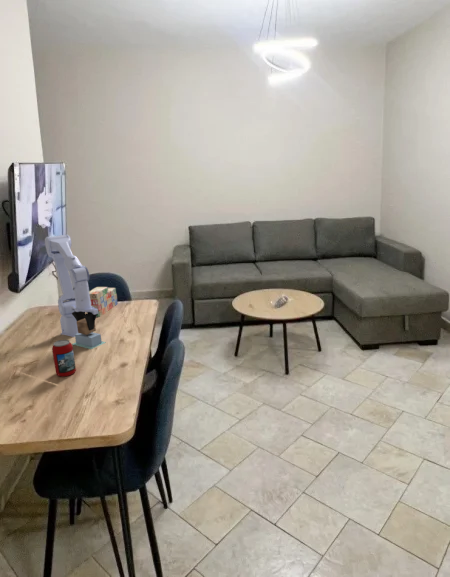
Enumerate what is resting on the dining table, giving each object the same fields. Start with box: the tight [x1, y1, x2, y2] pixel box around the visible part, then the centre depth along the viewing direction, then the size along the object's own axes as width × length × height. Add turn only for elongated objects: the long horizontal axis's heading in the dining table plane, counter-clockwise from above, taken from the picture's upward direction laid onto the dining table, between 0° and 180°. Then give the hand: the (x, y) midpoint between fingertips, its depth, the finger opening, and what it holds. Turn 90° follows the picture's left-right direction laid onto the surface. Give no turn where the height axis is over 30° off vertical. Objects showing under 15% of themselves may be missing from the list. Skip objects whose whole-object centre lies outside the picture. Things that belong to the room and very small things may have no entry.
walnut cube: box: [77, 318, 97, 335], centre depth 179 cm, size 5×5×5 cm
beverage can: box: [51, 339, 77, 378], centre depth 153 cm, size 7×7×12 cm
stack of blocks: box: [89, 286, 118, 318], centre depth 226 cm, size 21×6×12 cm, turn 169°
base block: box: [74, 332, 102, 347], centre depth 180 cm, size 10×5×4 cm, turn 57°
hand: (86, 328), depth 179 cm, fingers closed on walnut cube, 5 cm apart
